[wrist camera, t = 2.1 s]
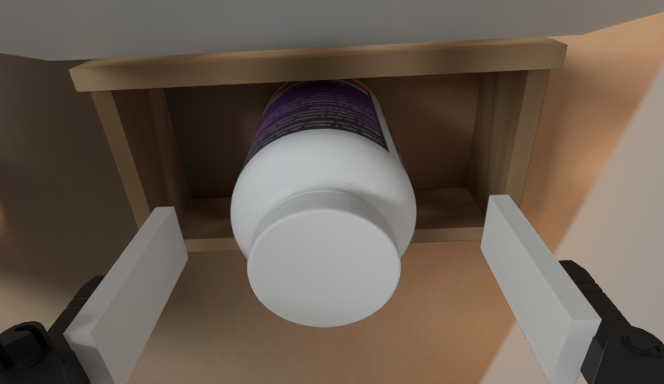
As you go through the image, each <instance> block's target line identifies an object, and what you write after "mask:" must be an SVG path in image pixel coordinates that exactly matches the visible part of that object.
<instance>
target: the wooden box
mask: <svg viewBox="0 0 664 384" xmlns="http://www.w3.org/2000/svg"><path fill="white" fill-rule="evenodd" d="M567 46H568V45H567V44H564V43H561V42H558V41H556V40H553V39H550V38H547V37H544V36H543V37H523V38H503V39H483V40H463V41H443V42H423V43H403V44H383V45H363V46H343V47H323V48H303V49H283V50H263V51H243V52H223V53H203V54H183V55H163V56H143V57H123V58H103V59H92V60H90V61H88V62H85V63H83V64H81V65H78V66H76V67H74V68H71V69H69V72H70V75H71V77H72V80H73V83H74V85H75V88H76V91H77V92H84V91H90V93H91V95H92V98H93V101H94V104H95V107H96V110H97V112H98V115H99V118H100V121H101V124H102V127H103V130H104V132H105V135H106V138H107V141H108V144H109V147H110V149H111V152H112V155H113V158H114V161H115V164H116V167H117V169H118V172H119V175H120V178H121V181H122V184H123V186H124V189H125V192H126V195H127V198H128V201H129V204H130V206H131V209H132V212H133V215H134V218H135V221H136V223H137V226H138V229H139V230H140V228H141V227H142V226H143V224H144V223H145V221H146V220H147V219H148V217H149V216H150V215H151V213H152V212H153V210H154V209H155V208H156V207H174V209H175V212H176V216H177V219H178V223H179V226H180V230H181V233H182V237H183V240H184V244H185V248H186V251H187V252H208V251H231V250H240V248H239V246H238V244H237V242H236V239H235V236H234V233H233V229H232V224H231V201H232V197H226V198H203V199H192V198H191V194H190V190H189V186H188V182H187V178H186V174H185V171H184V167H183V163H182V159H181V155H180V151H179V147H178V143H177V140H176V136H175V132H174V128H173V124H172V120H171V116H170V112H169V109H168V105H167V101H166V97H165V93H164V89H163V88H166V87H186V86H207V85H227V84H248V83H268V82H289V81H310V80H330V79H351V78H371V77H392V76H412V75H433V74H453V73H474V72H482V77H481V84H480V91H479V99H478V106H477V113H476V120H475V127H474V134H473V142H472V149H471V156H470V163H469V170H468V177H467V185H466V187H451V188H429V189H413V192H414V195H415V201H416V223H415V228H414V232H413V236H412V238H411V241H410V243H420V242H444V241H467V240H482V237H483V231H484V225H485V219H486V213H487V207H488V202H489V196H490V195H509V196H510V197H511V199H512V200H513V201H514V203H515V204H516V205H517V207H518V208H519V207H520V202H521V198H522V193H523V189H524V184H525V180H526V175H527V171H528V166H529V162H530V157H531V153H532V148H533V144H534V139H535V135H536V130H537V126H538V121H539V117H540V112H541V108H542V103H543V99H544V94H545V90H546V85H547V81H548V76H549V72H550V69H556V68H562V67H563V63H564V58H565V54H566V50H567Z"/></svg>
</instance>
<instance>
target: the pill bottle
mask: <svg viewBox="0 0 664 384" xmlns="http://www.w3.org/2000/svg"><path fill="white" fill-rule="evenodd" d="M415 223H416V201H415V195H414V192H413V188H412V185H411V182H410V179H409V177H408V175H407V172H406V170H405V167H404V165H403V162H402V160H401V157H400V154H399V152H398V149H397V147H396V144H395V142H394V139H393V136H392V134H391V131H390V128H389V126H388V123H387V120H386V117H385V114H384V112H383V109H382V107H381V105H380V103H379V101H378V100H377V98H376V97H375V96H374V94H373V93H372V92H371V91H370V90H369V89H368V88H367V87H366V86H365V85H364V84H363V83H361V82H360V81H358V80H357V79H355V78H351V79H330V80H310V81H289V82H286V83H284V84H283V85H282V86H281V87H280V88H279V89H278V90H277V91H276V92H275V93H274V95H273V96H272V97H271V99H270V100H269V102H268V104H267V106H266V108H265V110H264V112H263V115H262V118H261V120H260V123H259V126H258V128H257V131H256V133H255V136H254V138H253V141H252V144H251V146H250V149H249V152H248V154H247V157H246V159H245V162H244V164H243V167H242V169H241V172H240V174H239V177H238V179H237V182H236V185H235V188H234V191H233V195H232V201H231V224H232V229H233V233H234V236H235V239H236V242H237V244H238V246H239V248H240V250H241V251H242V253H243V254H244V256H245V257H246V259H247V260H248V262H247V273H248V278H249V282H250V285H251V287H252V290H253V292H254V293H255V295H256V296H257V298H258V299H259V300H260V301H261V302H262V304H263V305H264V306H265V307H267V308H268V309H269V310H270V311H272V312H273V313H275V314H276V315H278V316H280V317H282V318H284V319H286V320H288V321H291V322H294V323H297V324H301V325H306V326H312V327H335V326H342V325H347V324H350V323H354V322H357V321H360V320H362V319H364V318H366V317H368V316H370V315H372V314H373V313H375V312H376V311H378V310H379V309H380V308H381V307H382V306H383V305H384V304H385V303H386V302H387V301H388V300H389V299H390V298H391V296H392V295H393V293H394V291H395V289H396V288H397V285H398V282H399V279H400V274H401V262H400V258H401V257H402V255H403V254H404V252H405V250H406V249H407V247H408V245H409V243H410V241H411V238H412V236H413V232H414V228H415Z"/></svg>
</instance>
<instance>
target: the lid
mask: <svg viewBox="0 0 664 384" xmlns="http://www.w3.org/2000/svg"><path fill="white" fill-rule="evenodd" d="M663 11H664V0H0V53H3V54H9V55H16V56H22V57H28V58H35V59H41V60H47V61H63V60H83V59H103V58H123V57H143V56H163V55H183V54H203V53H223V52H243V51H263V50H283V49H303V48H323V47H343V46H363V45H383V44H403V43H423V42H443V41H463V40H483V39H503V38H523V37H543V36H563V35H583V34H587V33H590V32H594V31H597V30H600V29H604V28H607V27H611V26H614V25H618V24H621V23H625V22H628V21H632V20H635V19H639V18H642V17H646V16H649V15H653V14H656V13H660V12H663Z"/></svg>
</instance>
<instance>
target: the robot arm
mask: <svg viewBox="0 0 664 384" xmlns="http://www.w3.org/2000/svg"><path fill="white" fill-rule="evenodd" d="M480 249H481V251H482V253H483V255H484V257H485V259H486V261H487V263H488V265H489V267H490V269H491V271H492V273H493V275H494V277H495V279H496V281H497V283H498V285H499V287H500V288H501V290H502V292H503V294H504V296H505V298H506V300H507V302H508V304H509V306H510V308H511V310H512V312H513V314H514V316H515V318H516V320H517V322H518V324H519V326H520V328H521V330H522V332H523V334H524V336H525V338H526V340H527V342H528V344H529V346H530V348H531V350H532V352H533V354H534V356H535V358H536V360H537V362H538V364H539V365H540V367H541V369H542V371H543V373H544V375H545V377H546V379H547V381H548V383H549V384H576V382H577V379H578V377H579V375H580V372H581V373H582V374H583V376H584V378H585V379H586V381H587V383H588V384H664V344H663V343H662V342H661V341H660V340H659V339H658V338H656V337H655V336H654V335H653V334H651V333H649V332H647V331H645V330H643V329H640V328H637V327H634V326H631V325H630V324H629V322H628V321H627V320H626V319H625V317H624V316H623V315H622V314H621V313H620V311H619V310H618V309H617V308H616V306H615V305H614V304H613V303H612V301H611V300H610V299H609V298H608V297H607V296H606V294H605V293H603V292H602V289H601V288H600V287H599V285H598V284H596V283H595V281H594V279H593V278H592V277H591V276H590V274H589V273H588V272H587V271H586V270H585V269H584V268H582V267H581V266H579V265H578V264H576V263H575V262H573V261H572V260H563V261H558V260H557V259H556V258H555V256H554V255H553V254H552V252H551V251H550V250H549V248H548V247H547V246H546V244H545V243H544V242H543V240H542V239H541V238H540V236H539V235H538V234H537V232H536V231H535V229H534V228H533V227H532V225H531V224H530V223H529V221H528V220H527V219H526V217H525V216H524V215H523V213H522V212H521V211H520V209H519V208H518V207H517V205H516V204H515V203H514V201H513V200H512V199H511V197H510V196H509V195H490V196H489V202H488V207H487V213H486V219H485V225H484V231H483V237H482V242H481V248H480ZM187 260H188V255H187V251H186V248H185V244H184V240H183V237H182V233H181V230H180V226H179V223H178V219H177V216H176V212H175V209H174V207H156V208H155V209H154V210H153V212H152V213H151V215H150V216H149V217H148V219H147V220H146V221H145V223H144V224H143V226H142V227H141V228H140V230H139V231H138V232H137V234H136V235H135V236H134V238H133V239H132V241H131V242H130V243H129V245H128V246H127V247H126V249H125V250H124V251H123V253H122V254H121V256H120V257H119V258H118V260H117V261H116V262H115V264H114V265H113V266H112V268H111V269H110V271H109V272H108V273H107V275H106V276H95V277H94V278H93V279H91V280H90V281H89V282H88V283H86V284H85V285H84V286H82V288H81V289H80V290H79V292H78V293H77V294H76V295H75V297H74V300H72V301H71V302H70V303H69V304H68V306H67V309H65V310H64V311H63V312H62V313H61V315H60V316H59V317H58V319H57V320H56V321H55V322H54V324H53V325H52V326H51V328H50V329H49V330H48V331H46V330H45V328H44V326H43V325H42V324H41V323H39V322H35V321H31V322H24V323H21V324H18V325H15V326H13V327H11V328H9V329H7V330H5V331H4V332H2V333H1V334H0V384H126V383H127V381H128V379H129V377H130V375H131V373H132V371H133V369H134V367H135V365H136V363H137V361H138V359H139V357H140V355H141V353H142V351H143V349H144V347H145V345H146V343H147V341H148V339H149V337H150V335H151V333H152V331H153V329H154V327H155V325H156V323H157V321H158V319H159V317H160V315H161V313H162V311H163V309H164V307H165V305H166V303H167V301H168V299H169V297H170V295H171V292H172V290H173V288H174V286H175V284H176V282H177V280H178V278H179V276H180V274H181V272H182V270H183V268H184V266H185V264H186V262H187Z"/></svg>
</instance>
